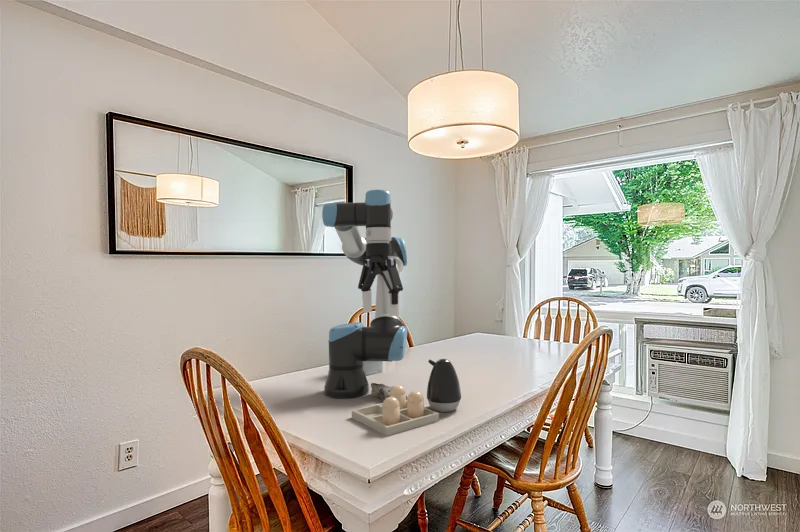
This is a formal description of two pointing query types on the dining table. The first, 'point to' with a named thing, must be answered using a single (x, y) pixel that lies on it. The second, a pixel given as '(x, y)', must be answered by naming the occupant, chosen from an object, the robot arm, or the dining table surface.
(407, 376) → the dining table surface
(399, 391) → the beige domed cylinder
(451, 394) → the pump dispenser
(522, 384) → the dining table surface
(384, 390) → the mineral rock
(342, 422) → the dining table surface
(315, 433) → the dining table surface
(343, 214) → the robot arm
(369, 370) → the supplement box
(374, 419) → the egg tray
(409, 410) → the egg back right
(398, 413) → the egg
